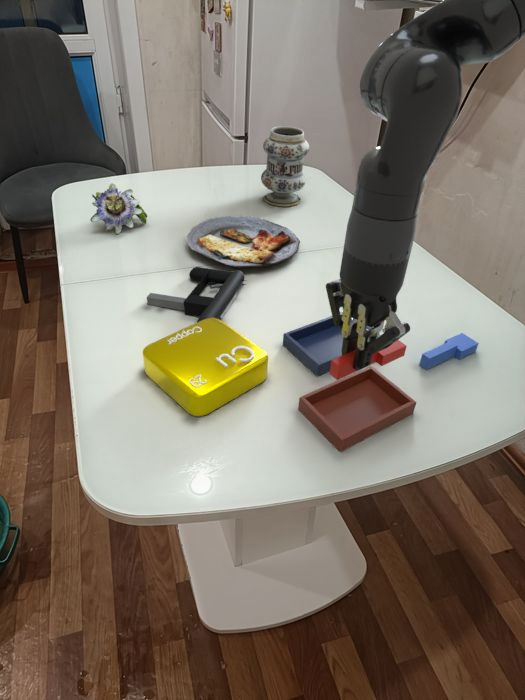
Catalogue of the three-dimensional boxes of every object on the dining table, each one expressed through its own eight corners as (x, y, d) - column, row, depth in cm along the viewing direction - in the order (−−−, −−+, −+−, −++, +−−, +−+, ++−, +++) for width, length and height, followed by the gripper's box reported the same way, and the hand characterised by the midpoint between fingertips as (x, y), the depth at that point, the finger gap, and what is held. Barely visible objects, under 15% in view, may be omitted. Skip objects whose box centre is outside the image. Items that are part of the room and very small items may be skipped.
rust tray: (368, 376, 82) (371, 365, 81) (413, 413, 76) (416, 402, 74) (297, 408, 76) (299, 397, 74) (339, 452, 70) (342, 440, 68)
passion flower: (121, 253, 123) (86, 222, 113) (113, 227, 129) (78, 196, 120) (158, 226, 121) (125, 192, 111) (148, 200, 127) (115, 166, 118)
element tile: (214, 334, 90) (213, 311, 87) (272, 377, 81) (274, 353, 78) (139, 369, 81) (136, 346, 78) (196, 422, 73) (195, 397, 70)
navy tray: (345, 321, 94) (347, 310, 93) (381, 349, 88) (384, 337, 87) (282, 344, 88) (283, 333, 87) (317, 376, 82) (318, 365, 80)
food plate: (317, 246, 118) (319, 232, 116) (256, 286, 103) (256, 271, 101) (233, 216, 129) (233, 203, 127) (167, 248, 114) (166, 234, 112)
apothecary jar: (305, 209, 134) (312, 138, 123) (259, 207, 134) (262, 136, 123) (303, 192, 144) (309, 125, 133) (260, 190, 144) (263, 122, 133)
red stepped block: (386, 342, 74) (389, 329, 72) (404, 355, 72) (407, 342, 70) (324, 369, 69) (326, 355, 67) (341, 384, 67) (344, 371, 65)
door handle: (130, 310, 90) (215, 323, 86) (177, 259, 105) (251, 269, 102) (133, 325, 92) (216, 339, 88) (179, 273, 107) (252, 283, 104)
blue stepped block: (459, 340, 91) (463, 329, 89) (475, 351, 89) (480, 340, 87) (414, 361, 86) (417, 350, 84) (430, 373, 83) (434, 362, 82)
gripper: (446, 263, 55) (411, 382, 66) (361, 217, 64) (342, 329, 75) (396, 281, 52) (368, 403, 63) (314, 229, 61) (301, 344, 72)
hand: (354, 362), depth 69 cm, fingers closed on red stepped block, 1 cm apart
